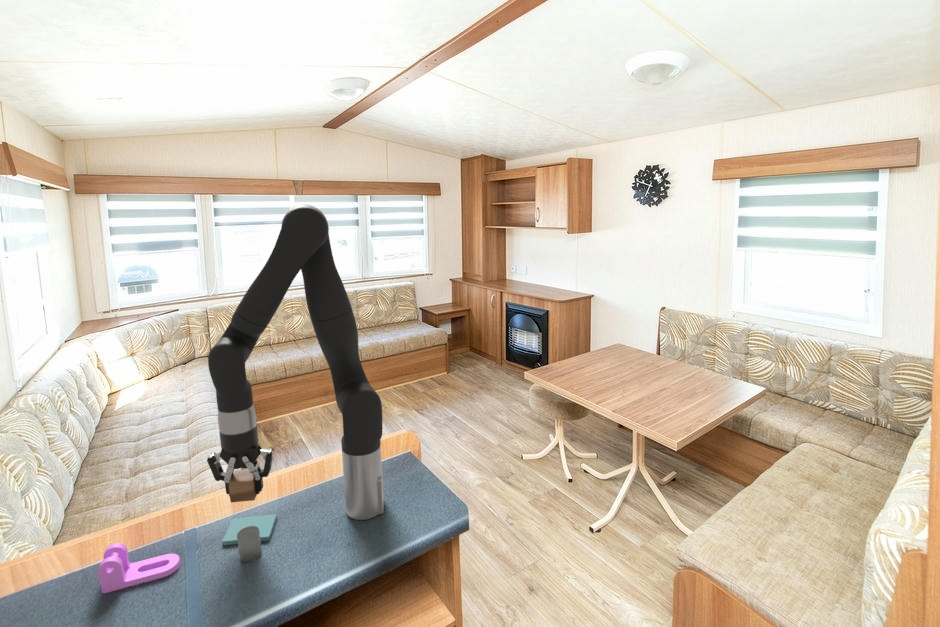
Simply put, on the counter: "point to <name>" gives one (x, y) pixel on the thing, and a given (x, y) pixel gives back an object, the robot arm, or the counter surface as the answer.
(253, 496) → the walnut block
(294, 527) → the counter surface
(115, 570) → the bracket
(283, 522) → the counter surface
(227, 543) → the teal mat
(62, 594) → the counter surface
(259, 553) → the grey rounded part
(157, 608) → the counter surface
